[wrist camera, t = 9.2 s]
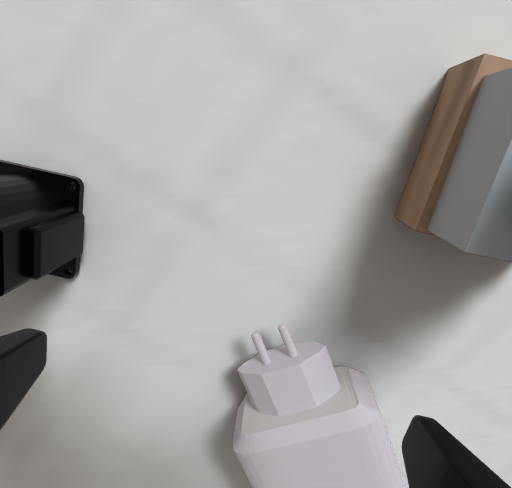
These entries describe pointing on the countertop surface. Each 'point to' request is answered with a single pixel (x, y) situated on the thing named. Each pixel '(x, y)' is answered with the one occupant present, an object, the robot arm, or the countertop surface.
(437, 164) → the tower base
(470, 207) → the tower top
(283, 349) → the charger
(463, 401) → the countertop surface
